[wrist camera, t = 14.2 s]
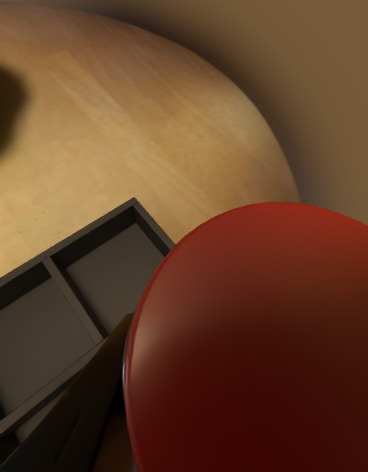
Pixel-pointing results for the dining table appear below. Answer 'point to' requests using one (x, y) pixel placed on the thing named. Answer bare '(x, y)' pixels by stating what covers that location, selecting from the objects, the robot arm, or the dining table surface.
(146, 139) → the dining table surface
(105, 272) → the tray
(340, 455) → the pepper grinder
